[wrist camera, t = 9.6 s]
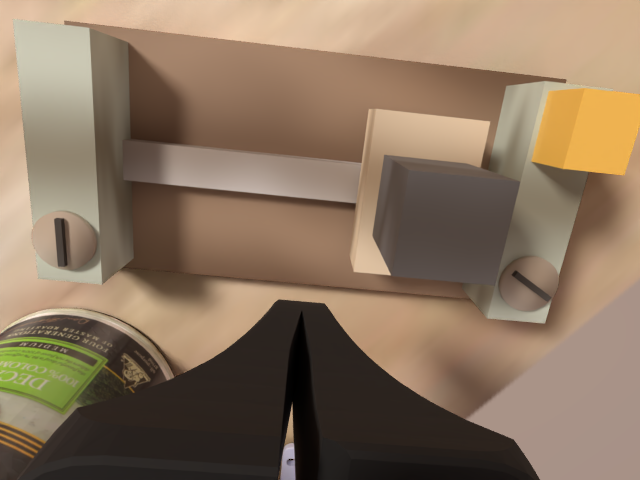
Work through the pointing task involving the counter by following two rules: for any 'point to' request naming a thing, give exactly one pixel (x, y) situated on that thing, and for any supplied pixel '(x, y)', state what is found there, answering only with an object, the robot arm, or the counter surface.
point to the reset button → (588, 130)
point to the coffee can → (65, 374)
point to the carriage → (429, 200)
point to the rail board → (258, 159)
